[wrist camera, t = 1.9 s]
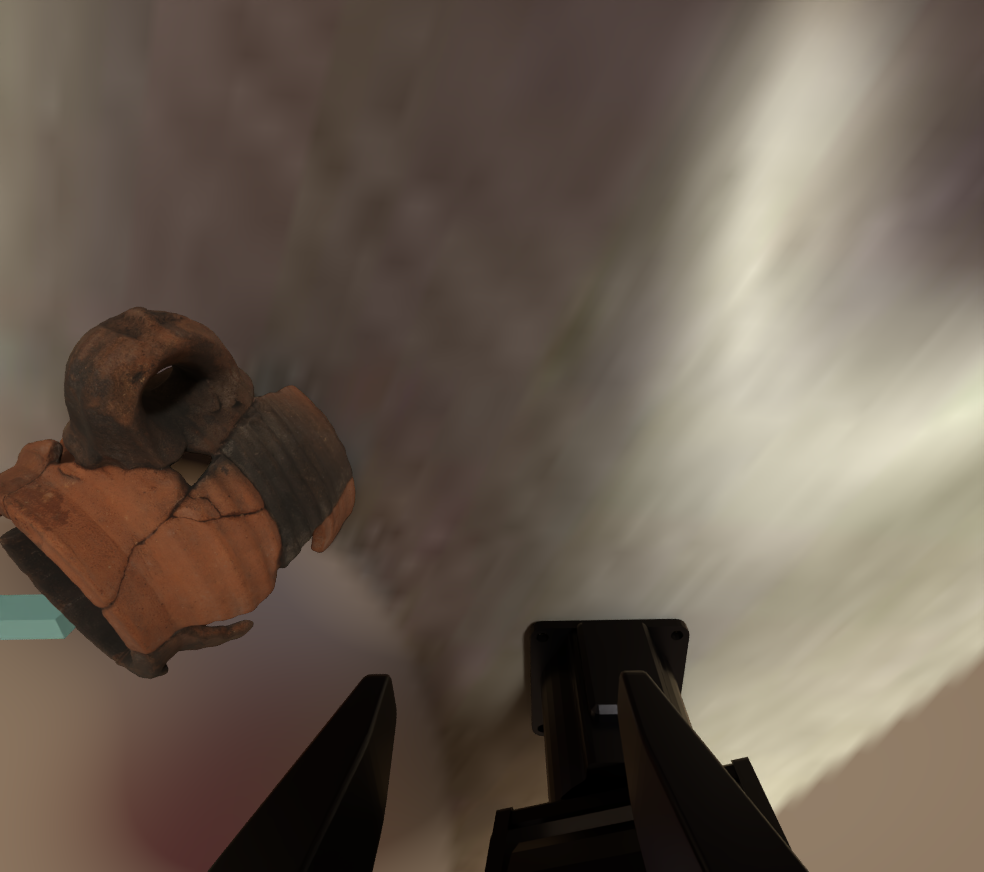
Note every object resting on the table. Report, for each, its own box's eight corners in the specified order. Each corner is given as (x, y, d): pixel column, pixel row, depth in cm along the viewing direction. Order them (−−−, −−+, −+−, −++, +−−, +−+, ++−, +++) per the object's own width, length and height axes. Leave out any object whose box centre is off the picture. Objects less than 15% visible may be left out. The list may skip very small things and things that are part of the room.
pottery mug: (377, 568, 23) (205, 749, 17) (219, 473, 26) (27, 598, 20) (367, 303, 15) (44, 467, 9) (144, 213, 18) (-203, 294, 12)
